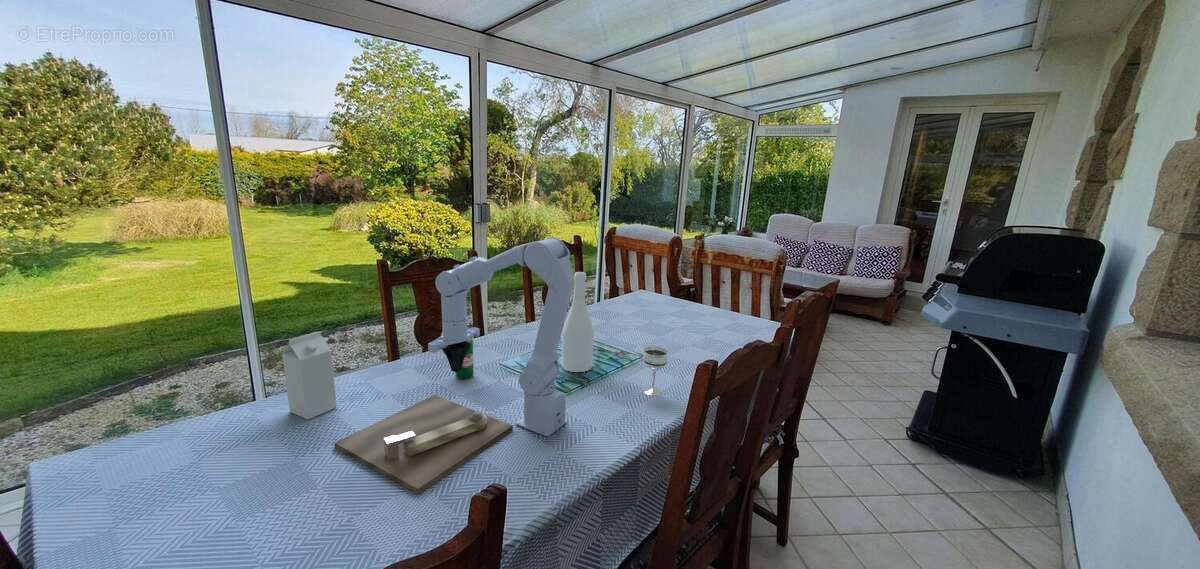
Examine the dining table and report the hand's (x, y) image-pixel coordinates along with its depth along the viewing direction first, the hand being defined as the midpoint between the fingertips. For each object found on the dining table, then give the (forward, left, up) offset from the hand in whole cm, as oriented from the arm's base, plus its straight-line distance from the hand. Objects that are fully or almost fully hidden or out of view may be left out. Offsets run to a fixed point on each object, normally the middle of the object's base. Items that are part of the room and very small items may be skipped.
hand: (456, 370), depth 113 cm
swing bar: (-11, +13, -8) cm, 19 cm away
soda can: (+11, -13, -10) cm, 20 cm away
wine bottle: (-12, -37, -10) cm, 40 cm away
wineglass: (-38, -36, -10) cm, 53 cm away
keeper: (-7, +22, -8) cm, 24 cm away
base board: (-6, +14, -9) cm, 18 cm away
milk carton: (+26, +21, -10) cm, 35 cm away
